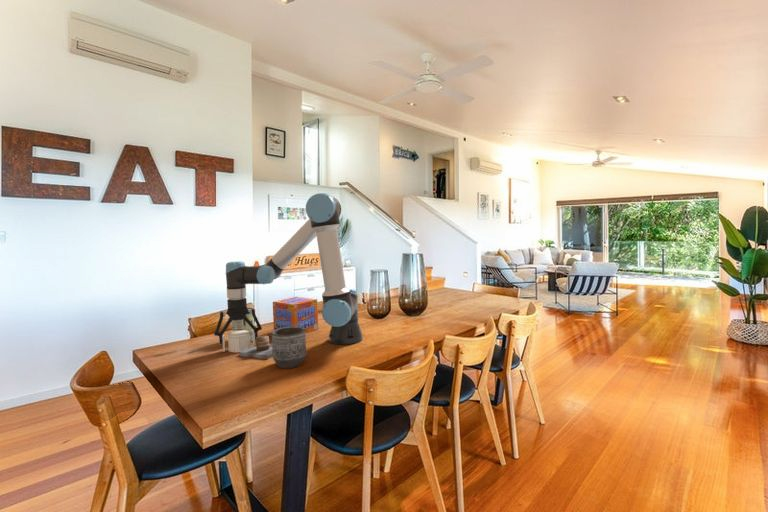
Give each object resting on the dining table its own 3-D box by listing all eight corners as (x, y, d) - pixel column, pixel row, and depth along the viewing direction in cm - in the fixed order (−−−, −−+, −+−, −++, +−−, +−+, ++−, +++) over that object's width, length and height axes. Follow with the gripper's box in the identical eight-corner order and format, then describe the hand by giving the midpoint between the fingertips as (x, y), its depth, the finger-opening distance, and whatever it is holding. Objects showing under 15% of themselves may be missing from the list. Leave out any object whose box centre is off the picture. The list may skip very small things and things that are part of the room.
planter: (289, 372, 130) (287, 337, 129) (265, 366, 136) (264, 332, 135) (313, 361, 140) (312, 328, 139) (290, 356, 147) (289, 325, 146)
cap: (254, 347, 160) (253, 331, 160) (240, 353, 153) (239, 336, 152) (238, 345, 163) (237, 329, 163) (224, 351, 156) (223, 335, 155)
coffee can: (239, 336, 178) (237, 307, 177) (259, 336, 177) (258, 307, 176) (227, 343, 167) (226, 312, 166) (249, 343, 166) (248, 312, 165)
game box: (297, 325, 196) (296, 296, 195) (318, 329, 187) (317, 298, 186) (273, 332, 183) (272, 301, 182) (295, 337, 175) (293, 304, 173)
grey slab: (286, 349, 156) (285, 334, 155) (267, 359, 144) (266, 342, 144) (258, 346, 161) (258, 332, 160) (239, 355, 149) (238, 340, 149)
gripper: (265, 294, 165) (267, 342, 166) (205, 299, 155) (208, 350, 156) (267, 296, 158) (269, 346, 159) (205, 302, 148) (208, 355, 150)
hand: (239, 348), depth 158 cm, fingers open, 11 cm apart
